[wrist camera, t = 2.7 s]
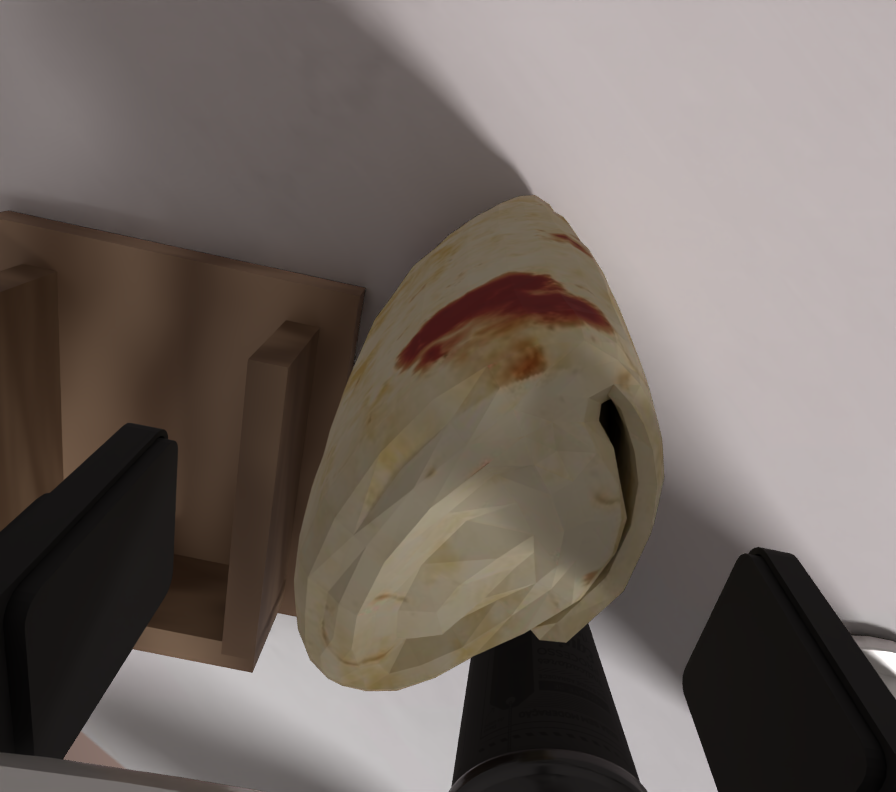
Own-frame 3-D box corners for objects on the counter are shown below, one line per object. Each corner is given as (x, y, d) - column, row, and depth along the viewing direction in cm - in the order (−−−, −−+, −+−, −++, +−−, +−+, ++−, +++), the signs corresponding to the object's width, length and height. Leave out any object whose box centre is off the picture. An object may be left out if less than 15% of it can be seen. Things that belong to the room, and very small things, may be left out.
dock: (365, 287, 30) (334, 331, 24) (315, 600, 37) (282, 694, 31) (8, 210, 29) (-116, 235, 23) (27, 542, 36) (-64, 626, 30)
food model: (485, 147, 27) (482, 219, 9) (610, 245, 28) (840, 487, 10) (357, 331, 30) (161, 663, 12) (474, 411, 32) (457, 821, 13)
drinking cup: (434, 609, 37) (380, 1111, 18) (491, 501, 34) (496, 968, 15) (559, 655, 37) (628, 1181, 19) (625, 554, 34) (784, 1058, 16)
